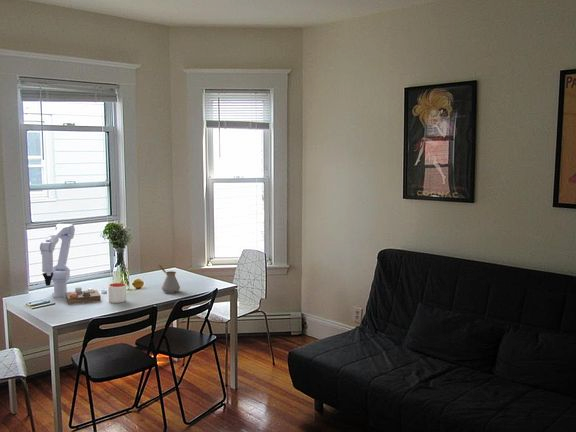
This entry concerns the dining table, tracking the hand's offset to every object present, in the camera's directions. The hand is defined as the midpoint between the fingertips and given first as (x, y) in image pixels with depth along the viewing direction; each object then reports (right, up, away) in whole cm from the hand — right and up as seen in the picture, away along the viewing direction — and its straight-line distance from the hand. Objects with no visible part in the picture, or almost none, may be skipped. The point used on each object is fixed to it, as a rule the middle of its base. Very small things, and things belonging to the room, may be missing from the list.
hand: (48, 285), depth 322 cm
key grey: (+13, -7, +12) cm, 19 cm away
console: (+17, -10, +10) cm, 22 cm away
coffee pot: (+61, -8, +37) cm, 72 cm away
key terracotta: (+13, -9, +4) cm, 17 cm away
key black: (+20, -9, +7) cm, 23 cm away
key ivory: (+19, -8, +15) cm, 26 cm away
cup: (+37, -11, +9) cm, 40 cm away
